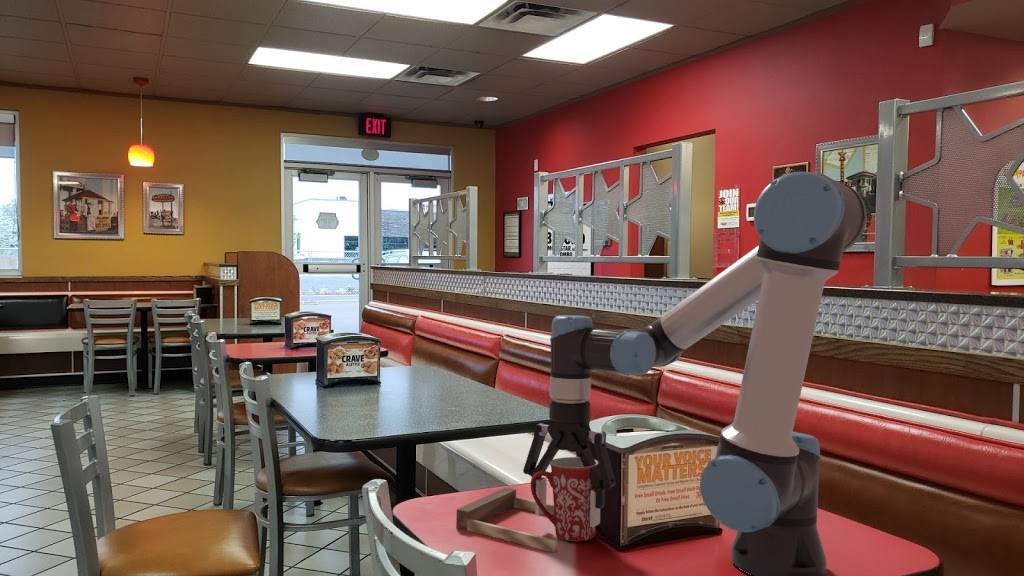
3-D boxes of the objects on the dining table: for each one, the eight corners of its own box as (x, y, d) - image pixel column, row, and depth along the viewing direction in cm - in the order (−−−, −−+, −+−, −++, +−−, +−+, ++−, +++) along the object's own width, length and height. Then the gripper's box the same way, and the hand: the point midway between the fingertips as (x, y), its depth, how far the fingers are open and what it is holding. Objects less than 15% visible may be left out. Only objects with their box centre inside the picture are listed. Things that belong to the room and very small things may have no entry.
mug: (600, 527, 141) (597, 455, 141) (601, 543, 132) (599, 467, 132) (533, 527, 142) (531, 456, 142) (530, 543, 133) (528, 467, 133)
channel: (597, 525, 143) (598, 507, 143) (554, 553, 129) (555, 533, 128) (505, 503, 154) (505, 487, 154) (456, 527, 140) (456, 509, 139)
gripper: (636, 403, 134) (633, 525, 134) (526, 390, 146) (523, 502, 146) (620, 409, 127) (616, 537, 128) (506, 395, 139) (503, 512, 140)
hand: (567, 519), depth 137 cm, fingers closed on mug, 10 cm apart
